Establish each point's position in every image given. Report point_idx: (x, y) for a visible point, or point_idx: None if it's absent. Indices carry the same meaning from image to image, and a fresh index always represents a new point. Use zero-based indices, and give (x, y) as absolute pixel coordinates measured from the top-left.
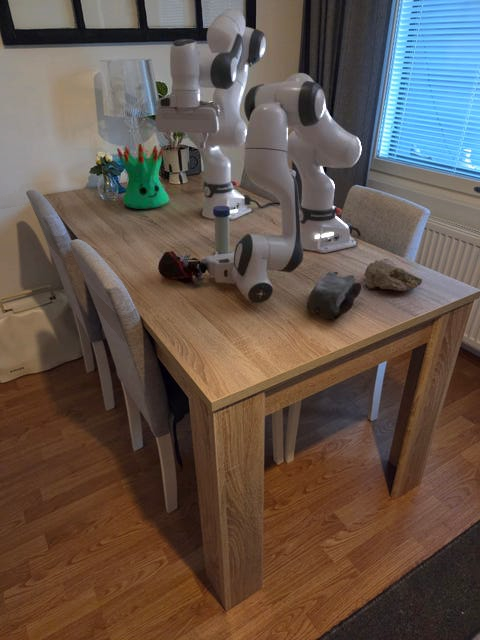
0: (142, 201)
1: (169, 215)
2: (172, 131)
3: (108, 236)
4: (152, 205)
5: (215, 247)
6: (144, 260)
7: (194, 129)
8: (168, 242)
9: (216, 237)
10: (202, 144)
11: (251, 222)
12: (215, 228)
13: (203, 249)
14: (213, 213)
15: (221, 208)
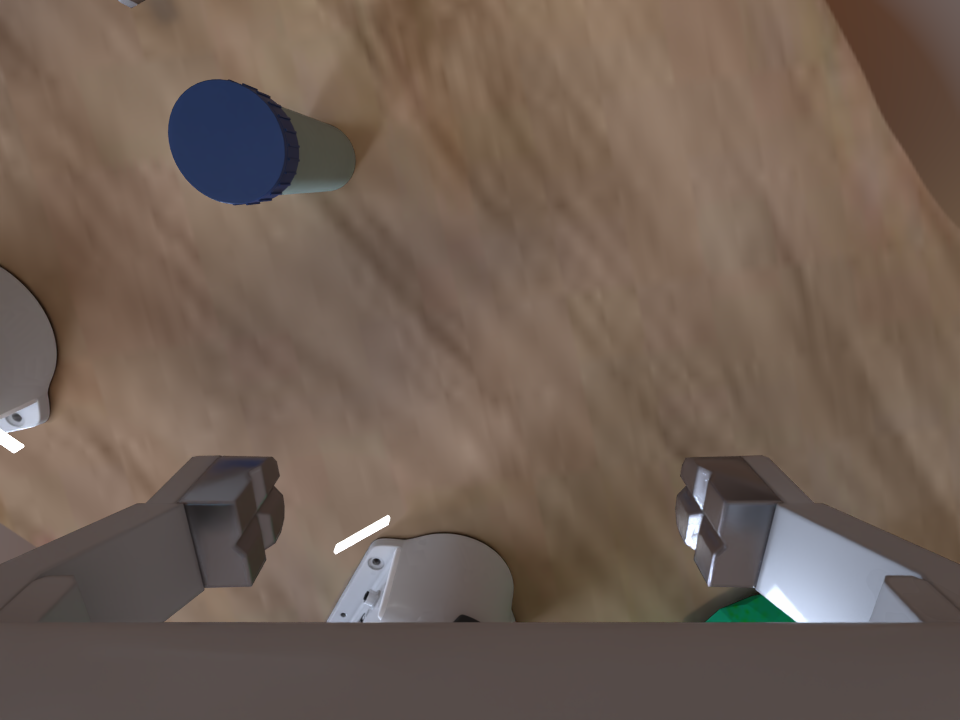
0: (784, 618)
1: (644, 554)
2: (939, 625)
3: (873, 296)
4: (732, 610)
5: (343, 142)
6: (663, 28)
7: (162, 701)
8: (593, 262)
9: (317, 123)
10: (197, 482)
11: (291, 523)
12: (308, 124)
13: (421, 202)
14: (292, 130)
15: (225, 137)
